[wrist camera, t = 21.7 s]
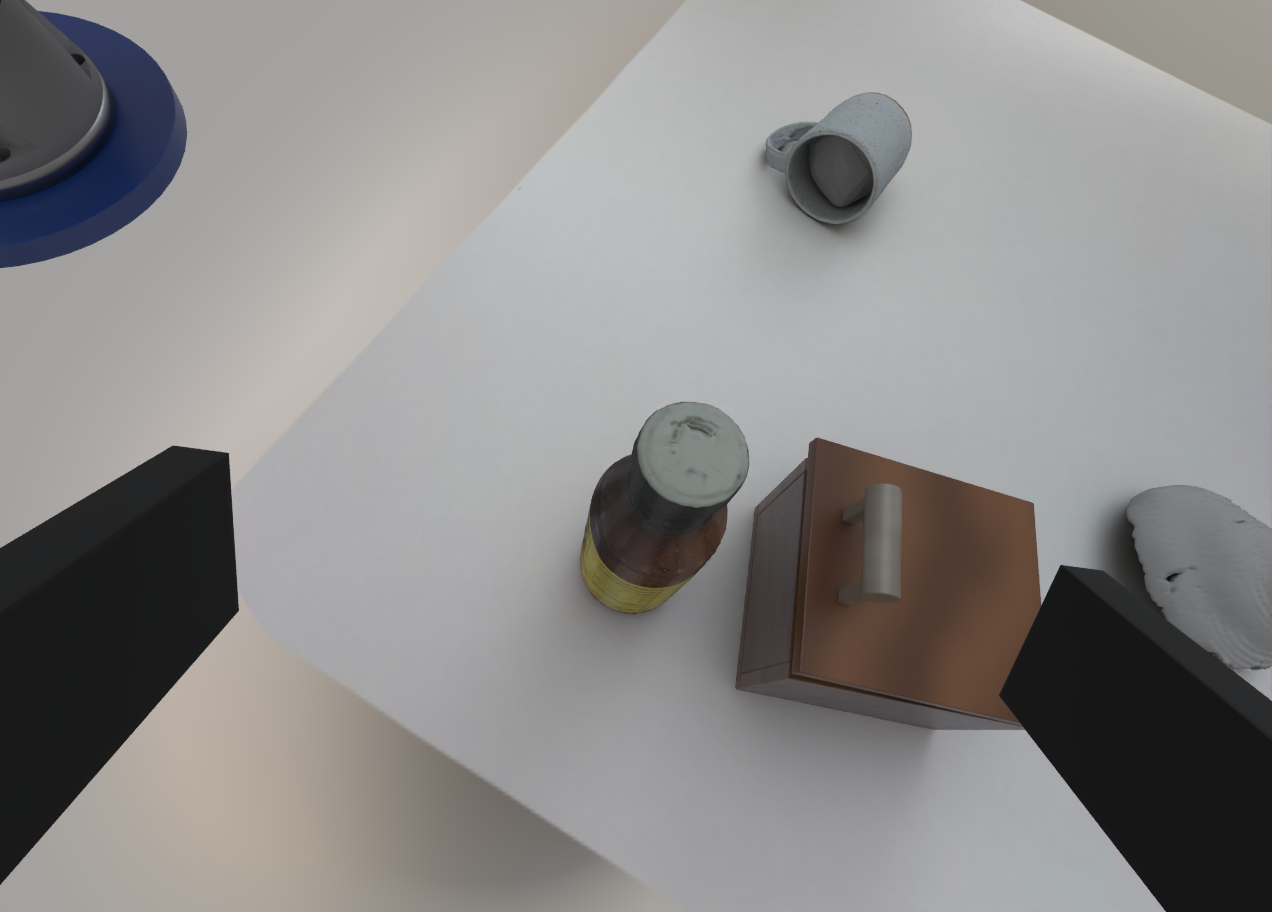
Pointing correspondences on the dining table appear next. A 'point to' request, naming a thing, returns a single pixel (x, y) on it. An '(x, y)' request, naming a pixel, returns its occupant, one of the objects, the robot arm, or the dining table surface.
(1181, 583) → the grey clay mound
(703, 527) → the sauce bottle
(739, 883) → the dining table surface
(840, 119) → the ceramic mug
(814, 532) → the breadbox lid
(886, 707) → the box
